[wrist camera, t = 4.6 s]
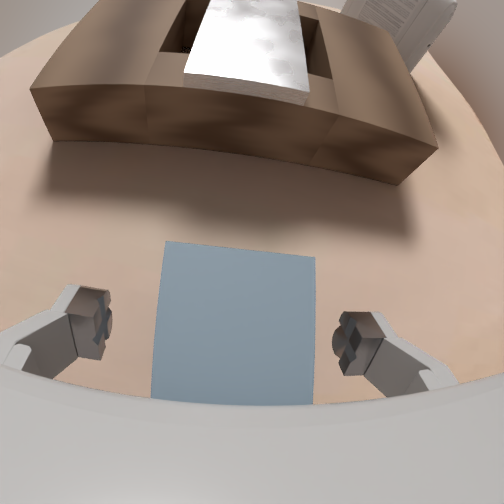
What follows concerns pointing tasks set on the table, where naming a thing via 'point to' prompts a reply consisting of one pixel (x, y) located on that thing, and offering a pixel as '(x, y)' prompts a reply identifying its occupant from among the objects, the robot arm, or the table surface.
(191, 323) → the blue-gray rectangular block
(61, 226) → the table surface
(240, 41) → the white rectangular bar
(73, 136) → the brown tissue box
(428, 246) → the table surface
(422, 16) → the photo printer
